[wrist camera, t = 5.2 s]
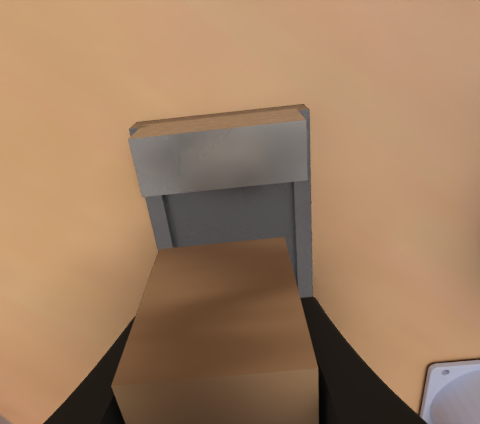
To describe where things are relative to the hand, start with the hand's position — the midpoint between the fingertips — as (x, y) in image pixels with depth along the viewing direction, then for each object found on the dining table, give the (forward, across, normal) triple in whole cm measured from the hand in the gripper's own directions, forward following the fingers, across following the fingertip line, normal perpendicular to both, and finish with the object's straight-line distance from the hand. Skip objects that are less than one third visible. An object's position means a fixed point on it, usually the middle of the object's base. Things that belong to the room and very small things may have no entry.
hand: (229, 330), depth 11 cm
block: (+2, 0, 0) cm, 2 cm away
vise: (+9, 0, +4) cm, 10 cm away
